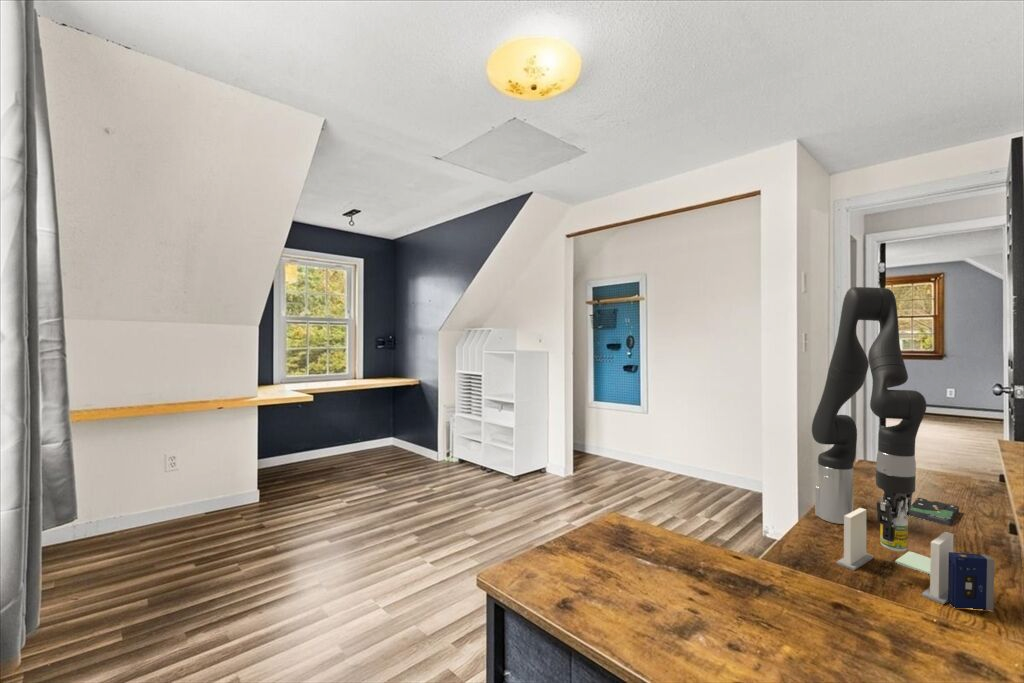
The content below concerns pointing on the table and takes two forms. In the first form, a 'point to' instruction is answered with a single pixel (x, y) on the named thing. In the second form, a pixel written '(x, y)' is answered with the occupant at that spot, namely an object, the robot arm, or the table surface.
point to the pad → (915, 562)
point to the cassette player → (971, 581)
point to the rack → (858, 556)
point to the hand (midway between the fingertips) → (893, 536)
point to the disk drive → (934, 511)
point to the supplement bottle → (897, 534)
